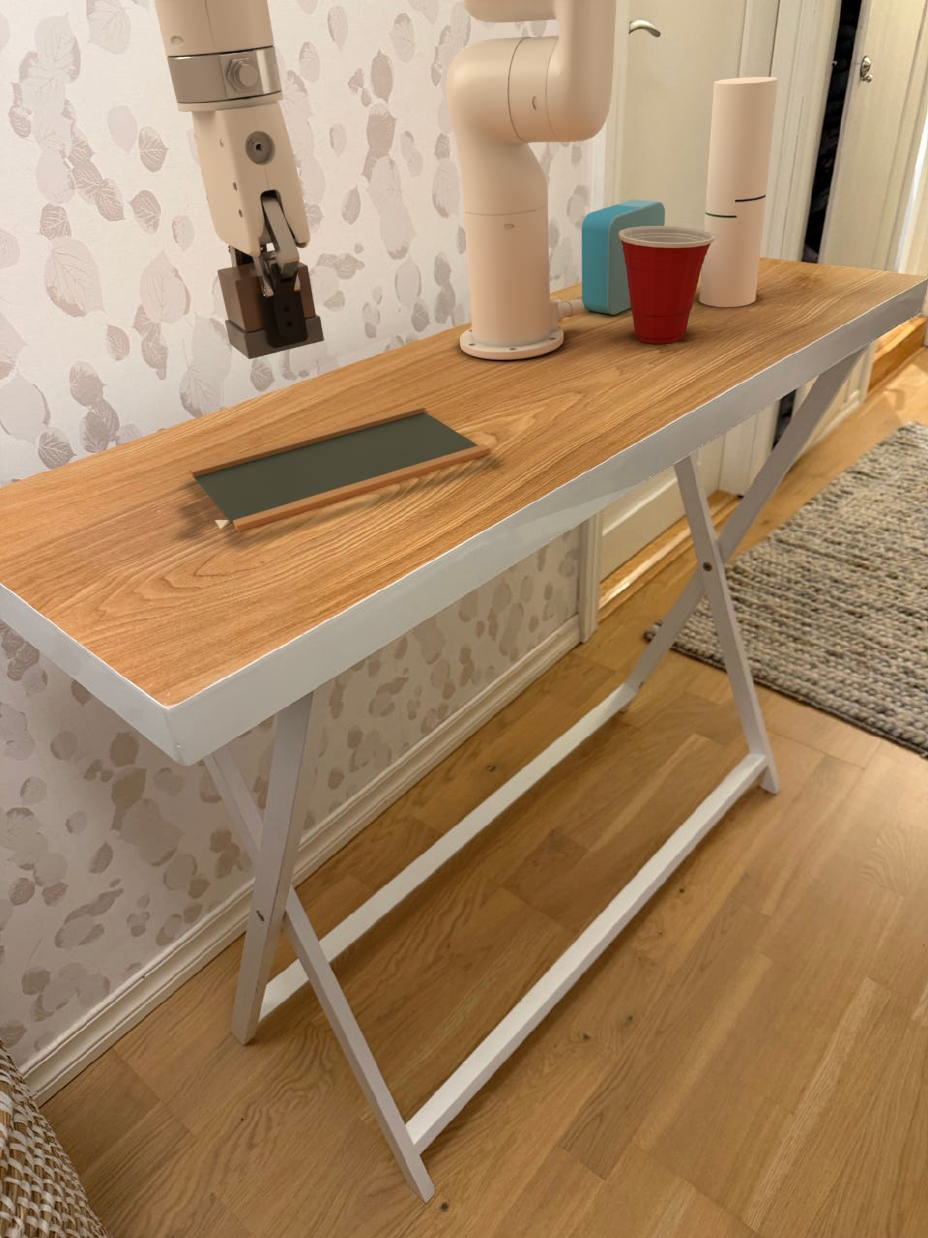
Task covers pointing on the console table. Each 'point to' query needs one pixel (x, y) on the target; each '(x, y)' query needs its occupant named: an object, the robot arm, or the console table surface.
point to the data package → (611, 252)
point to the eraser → (247, 314)
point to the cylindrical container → (737, 188)
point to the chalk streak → (222, 523)
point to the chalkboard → (331, 465)
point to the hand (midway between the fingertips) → (276, 332)
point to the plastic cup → (663, 278)
